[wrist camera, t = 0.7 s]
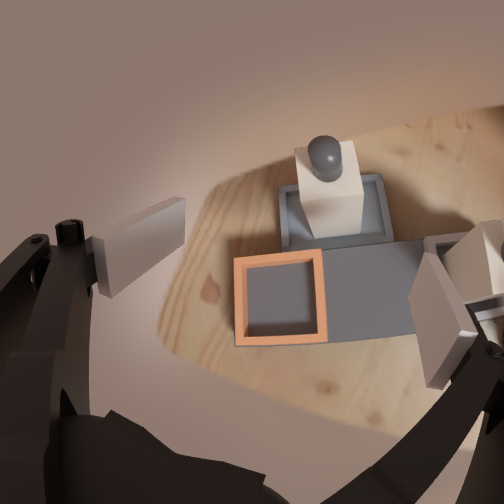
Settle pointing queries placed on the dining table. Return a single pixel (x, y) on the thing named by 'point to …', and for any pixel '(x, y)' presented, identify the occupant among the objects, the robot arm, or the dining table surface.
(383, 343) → the dining table surface
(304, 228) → the tray
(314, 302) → the grey base
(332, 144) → the bottle
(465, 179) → the dining table surface
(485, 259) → the twin plug
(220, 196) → the dining table surface
